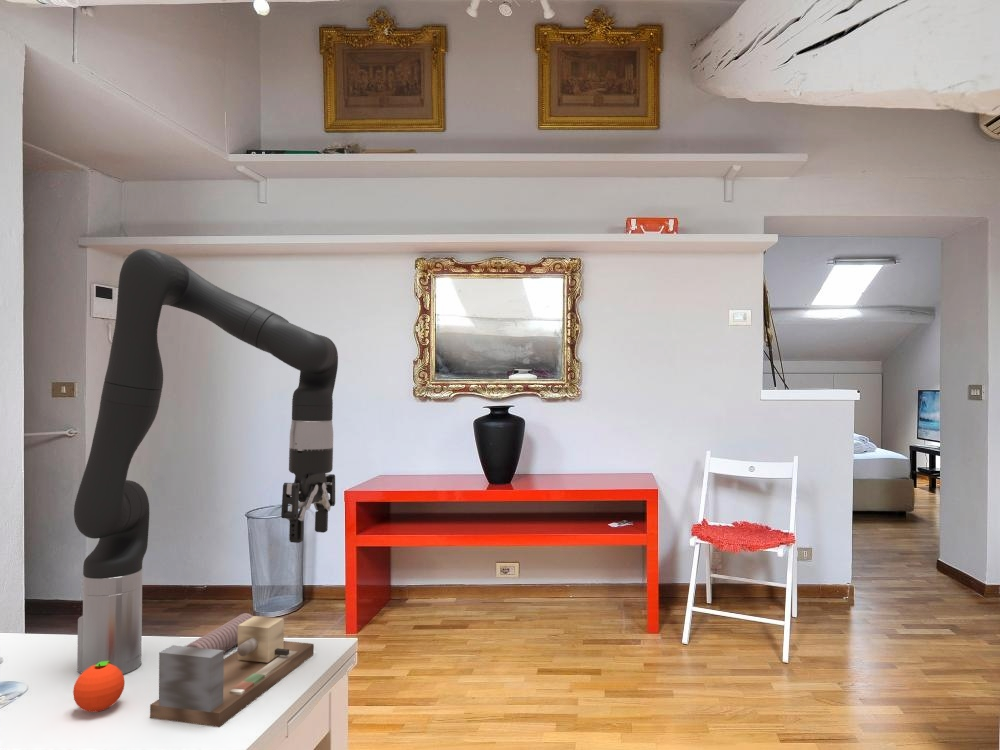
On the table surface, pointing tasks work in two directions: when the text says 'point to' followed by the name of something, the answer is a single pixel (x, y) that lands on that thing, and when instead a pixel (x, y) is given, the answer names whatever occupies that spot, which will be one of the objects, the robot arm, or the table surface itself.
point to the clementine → (98, 687)
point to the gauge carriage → (261, 639)
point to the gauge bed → (230, 682)
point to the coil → (222, 635)
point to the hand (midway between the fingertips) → (308, 536)
